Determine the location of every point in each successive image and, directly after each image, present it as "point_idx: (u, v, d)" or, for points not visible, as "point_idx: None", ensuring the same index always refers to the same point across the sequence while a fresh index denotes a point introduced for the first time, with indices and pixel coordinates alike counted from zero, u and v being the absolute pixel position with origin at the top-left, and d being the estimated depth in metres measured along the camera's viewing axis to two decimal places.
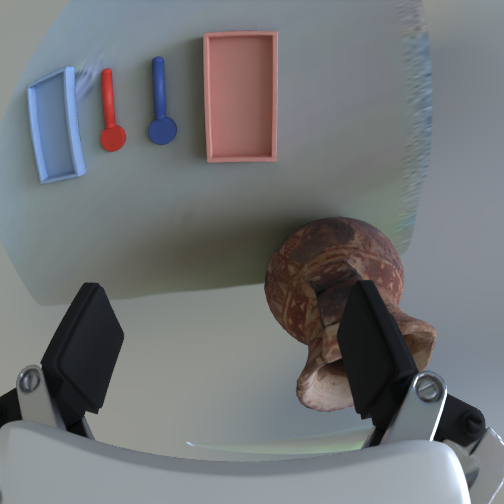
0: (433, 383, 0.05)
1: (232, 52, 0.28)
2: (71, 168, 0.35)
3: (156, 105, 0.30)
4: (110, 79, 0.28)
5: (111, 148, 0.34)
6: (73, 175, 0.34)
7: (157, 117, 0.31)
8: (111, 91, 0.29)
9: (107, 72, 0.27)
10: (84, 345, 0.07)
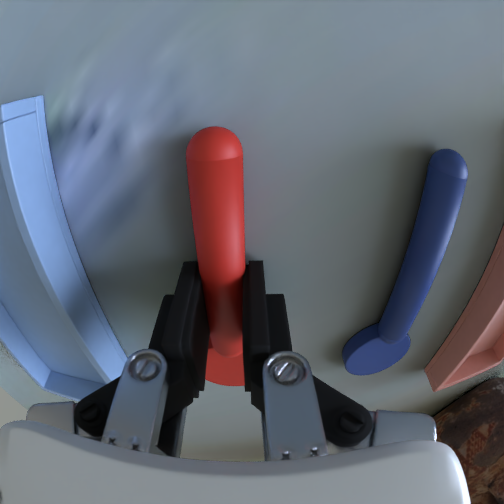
0: (289, 361, 0.07)
1: None
2: None
3: (406, 318, 0.10)
4: (241, 193, 0.08)
5: (229, 382, 0.14)
6: None
7: (392, 343, 0.11)
8: (243, 247, 0.09)
9: (232, 156, 0.07)
10: (197, 323, 0.08)
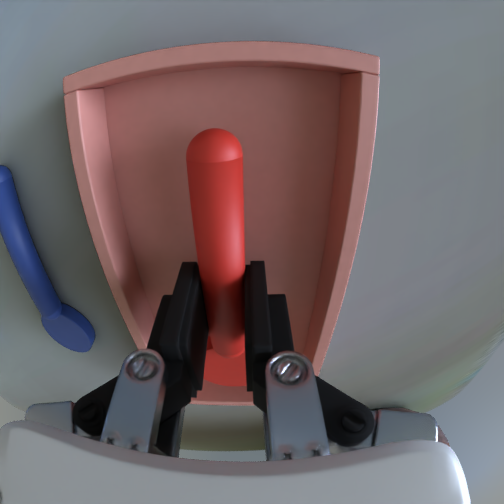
0: (292, 361, 0.07)
1: (187, 134, 0.08)
2: None
3: (30, 295, 0.11)
4: (241, 194, 0.08)
5: (229, 382, 0.14)
6: None
7: (44, 318, 0.12)
8: (243, 248, 0.09)
9: (232, 158, 0.07)
10: (195, 323, 0.08)
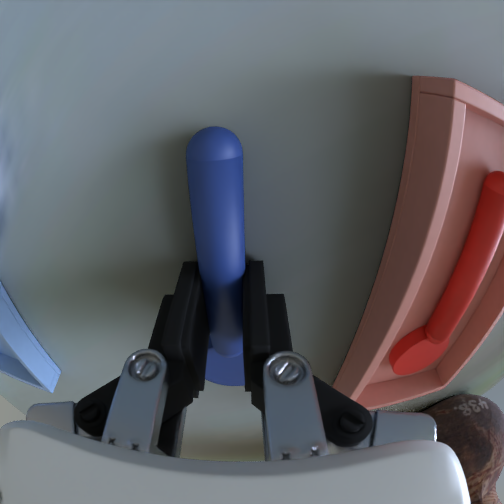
0: (289, 361, 0.07)
1: (476, 169, 0.07)
2: None
3: (220, 331, 0.10)
4: None
5: (409, 370, 0.13)
6: (41, 387, 0.14)
7: (225, 356, 0.11)
8: None
9: None
10: (197, 323, 0.08)
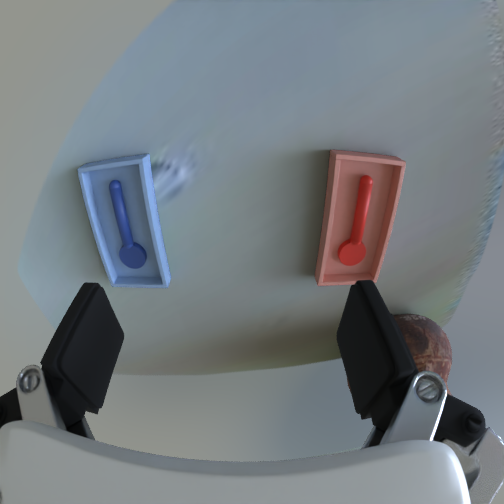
0: (433, 383, 0.05)
1: (356, 175, 0.30)
2: (152, 273, 0.37)
3: (121, 235, 0.32)
4: None
5: (349, 263, 0.36)
6: (160, 285, 0.36)
7: (125, 247, 0.33)
8: None
9: (372, 183, 0.29)
10: (84, 345, 0.07)
